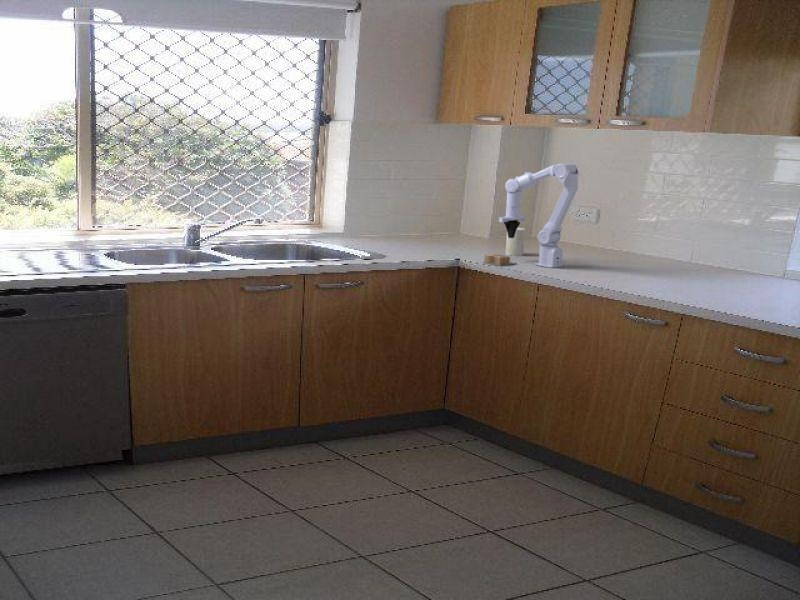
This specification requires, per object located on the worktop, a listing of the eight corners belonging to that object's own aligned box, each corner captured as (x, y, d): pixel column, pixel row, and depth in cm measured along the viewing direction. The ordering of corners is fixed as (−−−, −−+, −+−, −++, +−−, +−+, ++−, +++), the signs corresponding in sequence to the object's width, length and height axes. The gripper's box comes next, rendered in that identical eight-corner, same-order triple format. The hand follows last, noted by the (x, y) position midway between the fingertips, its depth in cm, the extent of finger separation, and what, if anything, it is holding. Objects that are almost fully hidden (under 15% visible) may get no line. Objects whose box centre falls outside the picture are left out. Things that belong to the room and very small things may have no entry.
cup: (502, 254, 387) (504, 228, 385) (509, 252, 394) (510, 227, 392) (519, 256, 384) (521, 230, 381) (525, 254, 391) (527, 228, 388)
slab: (509, 256, 360) (500, 257, 356) (509, 263, 361) (499, 264, 357) (494, 253, 367) (484, 254, 363) (494, 260, 368) (484, 261, 364)
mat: (517, 264, 363) (517, 263, 363) (499, 266, 356) (499, 265, 356) (500, 260, 370) (500, 259, 370) (482, 262, 363) (482, 261, 363)
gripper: (517, 205, 375) (515, 235, 378) (494, 206, 366) (492, 237, 369) (529, 206, 370) (527, 237, 373) (506, 208, 361) (504, 239, 364)
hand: (511, 237), depth 371 cm, fingers closed
